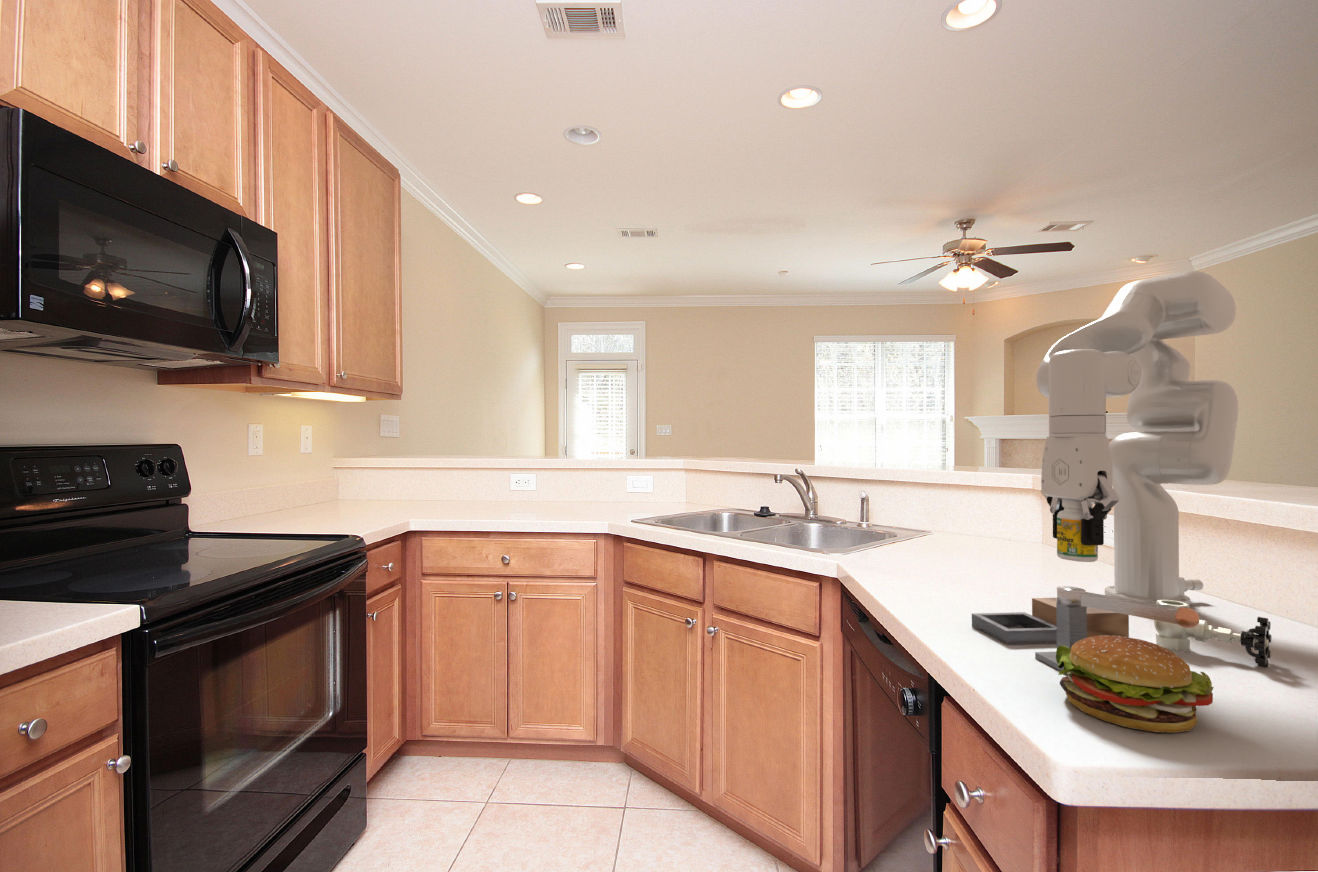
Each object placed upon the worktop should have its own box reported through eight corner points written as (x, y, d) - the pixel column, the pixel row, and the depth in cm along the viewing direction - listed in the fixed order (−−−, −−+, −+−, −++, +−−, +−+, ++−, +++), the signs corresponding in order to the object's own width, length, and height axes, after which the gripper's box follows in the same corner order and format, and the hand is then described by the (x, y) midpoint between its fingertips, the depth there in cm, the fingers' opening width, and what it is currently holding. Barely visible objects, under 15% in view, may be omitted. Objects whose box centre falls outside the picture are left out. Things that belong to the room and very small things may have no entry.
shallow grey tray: (1024, 624, 99) (1024, 612, 99) (1064, 642, 90) (1064, 629, 90) (971, 625, 99) (971, 613, 99) (1006, 644, 90) (1006, 631, 90)
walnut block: (1083, 620, 101) (1083, 597, 101) (1128, 638, 92) (1128, 612, 92) (1032, 622, 100) (1032, 598, 100) (1072, 640, 91) (1072, 613, 92)
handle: (1203, 627, 72) (1203, 607, 72) (1195, 632, 70) (1195, 612, 70) (1062, 600, 84) (1062, 583, 84) (1053, 604, 82) (1052, 587, 82)
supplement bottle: (1106, 562, 94) (1106, 500, 94) (1072, 562, 93) (1073, 500, 93) (1080, 555, 99) (1081, 497, 99) (1048, 555, 99) (1049, 497, 99)
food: (1252, 737, 62) (1252, 659, 62) (1126, 744, 61) (1126, 665, 61) (1135, 683, 76) (1135, 619, 76) (1030, 688, 75) (1030, 623, 75)
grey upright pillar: (1076, 656, 85) (1075, 598, 85) (1110, 673, 79) (1110, 610, 79) (1035, 657, 84) (1034, 599, 84) (1066, 674, 78) (1066, 611, 78)
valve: (1148, 649, 88) (1264, 674, 79) (1148, 603, 88) (1264, 623, 79) (1160, 639, 92) (1271, 662, 83) (1160, 596, 92) (1271, 613, 83)
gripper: (1018, 428, 105) (1019, 533, 105) (1096, 426, 88) (1097, 551, 87) (1060, 428, 105) (1060, 533, 105) (1145, 426, 88) (1146, 551, 88)
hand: (1077, 540), depth 96 cm, fingers closed on supplement bottle, 5 cm apart
